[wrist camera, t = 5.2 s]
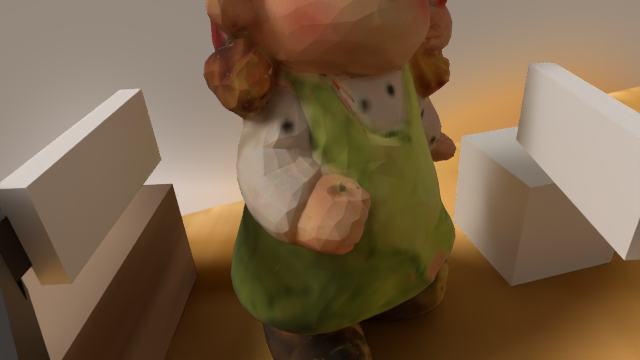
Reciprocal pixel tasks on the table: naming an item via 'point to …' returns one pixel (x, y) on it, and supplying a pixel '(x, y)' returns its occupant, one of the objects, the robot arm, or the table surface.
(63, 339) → the pedestal
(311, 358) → the figurine
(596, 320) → the table surface
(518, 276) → the grey cube
